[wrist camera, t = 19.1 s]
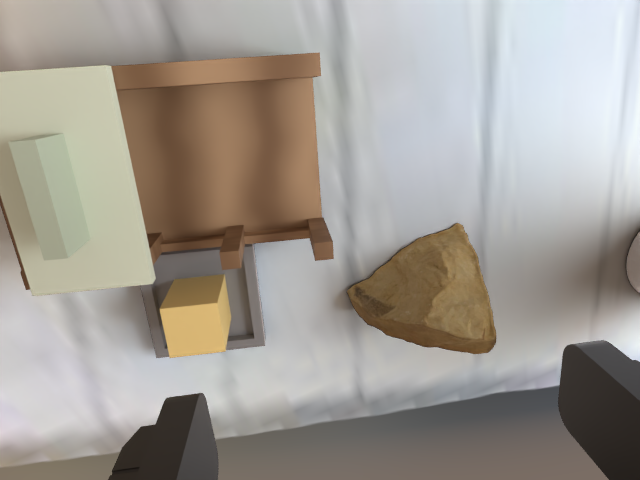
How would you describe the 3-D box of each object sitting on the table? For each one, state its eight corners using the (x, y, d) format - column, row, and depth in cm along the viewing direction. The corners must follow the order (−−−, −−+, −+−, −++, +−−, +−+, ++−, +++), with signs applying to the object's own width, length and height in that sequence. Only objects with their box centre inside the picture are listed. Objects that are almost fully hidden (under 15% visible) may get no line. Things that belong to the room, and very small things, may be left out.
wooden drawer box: (310, 59, 31) (321, 52, 24) (321, 224, 36) (333, 258, 29) (30, 78, 30) (-44, 76, 23) (76, 247, 34) (26, 289, 27)
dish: (253, 240, 35) (252, 246, 34) (265, 336, 39) (265, 345, 37) (139, 251, 35) (134, 257, 33) (160, 348, 38) (156, 358, 37)
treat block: (224, 274, 36) (217, 302, 31) (231, 317, 37) (225, 351, 32) (174, 279, 35) (159, 309, 31) (182, 322, 37) (169, 357, 32)
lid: (110, 65, 23) (82, 62, 20) (155, 278, 27) (138, 307, 24) (-28, 74, 23) (-84, 72, 19) (39, 290, 27) (3, 321, 23)
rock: (343, 352, 37) (461, 359, 37) (350, 343, 29) (501, 352, 29) (348, 232, 41) (457, 238, 40) (356, 193, 32) (491, 201, 32)
